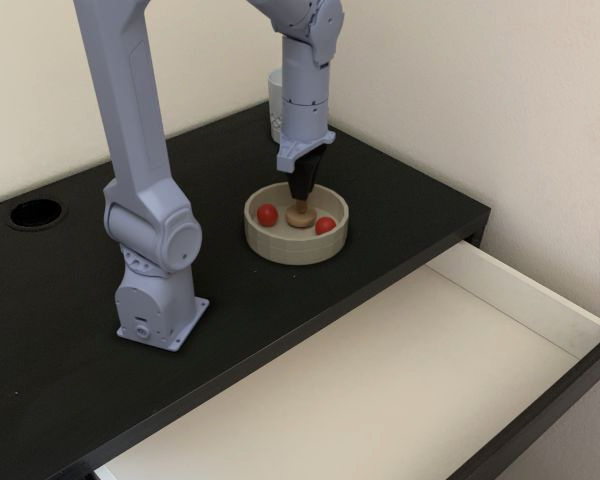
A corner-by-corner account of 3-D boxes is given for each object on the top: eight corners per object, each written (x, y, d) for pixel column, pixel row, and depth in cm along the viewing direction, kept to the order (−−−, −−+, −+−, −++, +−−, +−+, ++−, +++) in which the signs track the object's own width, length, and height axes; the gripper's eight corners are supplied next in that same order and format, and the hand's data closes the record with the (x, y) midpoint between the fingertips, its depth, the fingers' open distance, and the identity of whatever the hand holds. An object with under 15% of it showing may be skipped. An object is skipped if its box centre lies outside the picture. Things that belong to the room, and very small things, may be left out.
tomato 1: (273, 232, 93) (273, 213, 90) (253, 227, 93) (253, 208, 91) (281, 220, 94) (281, 202, 92) (261, 216, 95) (261, 197, 93)
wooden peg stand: (310, 230, 92) (312, 177, 86) (281, 223, 93) (281, 171, 87) (320, 213, 95) (323, 161, 89) (291, 207, 96) (292, 155, 90)
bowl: (328, 274, 88) (330, 249, 85) (229, 251, 90) (228, 226, 87) (358, 217, 96) (360, 193, 93) (267, 198, 99) (266, 173, 96)
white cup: (311, 151, 109) (313, 89, 101) (264, 146, 110) (263, 84, 102) (317, 128, 114) (320, 68, 106) (273, 123, 115) (272, 63, 107)
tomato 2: (332, 245, 91) (333, 226, 89) (311, 240, 91) (312, 222, 89) (338, 233, 93) (340, 214, 90) (318, 228, 93) (319, 210, 91)
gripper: (317, 127, 75) (312, 229, 86) (353, 77, 85) (345, 174, 95) (259, 116, 77) (262, 217, 87) (301, 68, 86) (298, 164, 96)
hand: (302, 194), depth 91 cm, fingers closed on wooden peg stand
